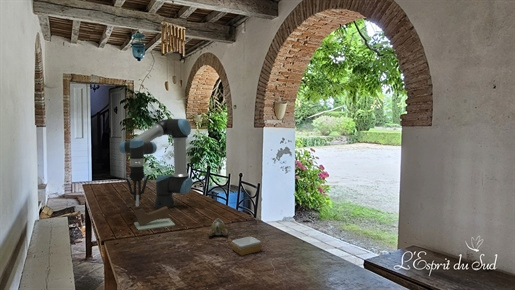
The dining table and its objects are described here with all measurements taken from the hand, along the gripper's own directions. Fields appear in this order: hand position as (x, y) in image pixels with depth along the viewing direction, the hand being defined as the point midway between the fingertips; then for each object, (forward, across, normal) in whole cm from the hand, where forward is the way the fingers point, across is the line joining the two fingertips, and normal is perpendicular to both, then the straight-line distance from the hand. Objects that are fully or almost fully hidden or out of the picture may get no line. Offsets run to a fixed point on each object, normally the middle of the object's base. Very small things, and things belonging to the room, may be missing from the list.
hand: (137, 205), depth 190 cm
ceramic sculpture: (+13, +37, -34) cm, 52 cm away
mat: (+12, +10, 0) cm, 16 cm away
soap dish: (+13, +40, -63) cm, 75 cm away
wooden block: (+8, 0, 0) cm, 8 cm away
